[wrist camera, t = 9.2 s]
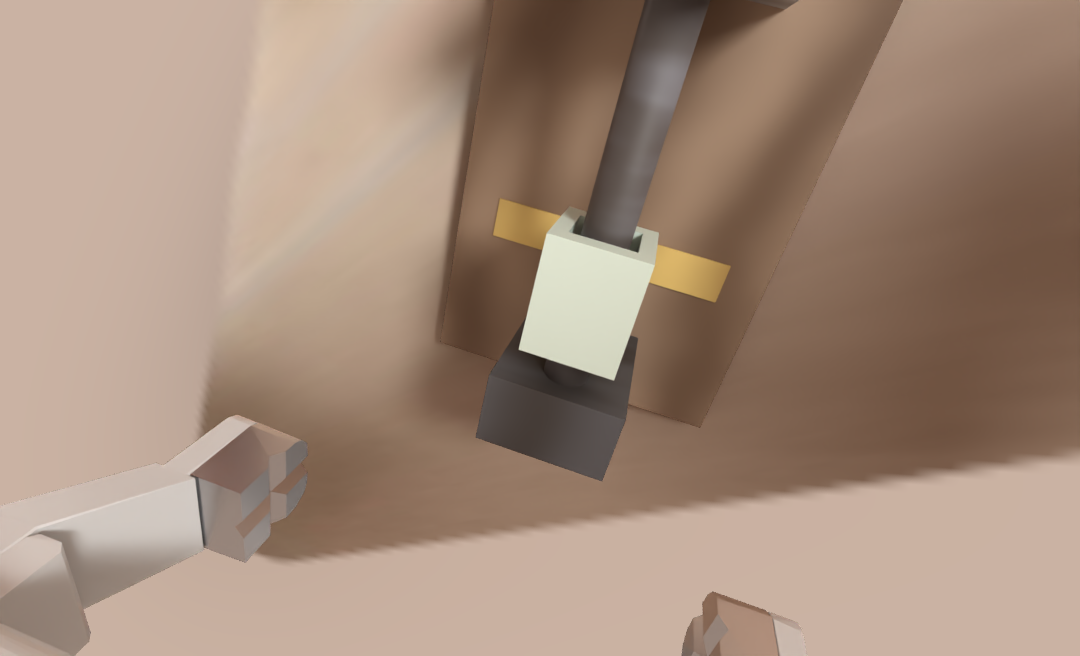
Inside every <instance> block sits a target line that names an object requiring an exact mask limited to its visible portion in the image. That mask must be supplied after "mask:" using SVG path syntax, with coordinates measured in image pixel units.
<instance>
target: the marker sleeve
mask: <svg viewBox="0 0 1080 656" xmlns="http://www.w3.org/2000/svg"><path fill="white" fill-rule="evenodd" d="M586 213H587V212H586V211H583V210H579V209H576V208H573V207H568V209H567V210H566V211H565V212H564V213H563V214H562V216H561V217H560V218H559V219H558V220H557V221H556V223H555V224H554V225H553V226H552V227H551V228H550V230H549V231H548V232H547V234H546V238H545V242H544V246H543V250H542V255H541V259H540V263H539V267H538V271H537V275H536V279H535V283H534V288H533V292H532V296H531V300H530V304H529V308H528V312H527V317H526V321H525V325H524V329H523V333H522V337H521V341H520V345H519V350H521V351H524V352H527V353H531V354H534V355H537V356H540V357H543V358H546V359H549V360H552V361H555V362H558V363H561V364H564V365H567V366H570V367H574V368H577V369H580V370H583V371H586V372H589V373H592V374H595V375H598V376H601V377H604V378H607V379H610V380H613V381H614V379H615V376H616V374H617V371H618V368H619V365H620V362H621V359H622V357H623V354H624V351H625V348H626V345H627V343H628V340H629V337H630V334H631V331H632V328H633V326H634V323H635V320H636V317H637V314H638V312H639V309H640V306H641V303H642V300H643V298H644V295H645V292H646V289H647V286H648V283H649V281H650V278H651V275H652V272H653V269H654V267H655V261H656V253H657V245H658V237H659V233H658V232H655V231H651V230H648V229H644V228H641V227H638V226H637V227H636V230H635V233H634V236H633V239H632V242H631V246H630V249H629V250H627V249H624V248H621V247H617V246H614V245H611V244H607V243H604V242H601V241H597V240H594V239H590V238H587V237H584V236H580V235H581V231H582V228H583V224H584V221H585V217H586Z"/></svg>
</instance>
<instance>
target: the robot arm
mask: <svg viewBox="0 0 1080 656" xmlns="http://www.w3.org/2000/svg"><path fill="white" fill-rule="evenodd" d="M307 456H308V451H307V443H306V442H305V441H303V440H301V439H298V438H296V437H293V436H291V435H288V434H286V433H283V432H281V431H278V430H276V429H273V428H271V427H268V426H266V425H263V424H261V423H258V422H255V421H253V420H250V419H247V418H245V417H242V416H240V415H234V416H231V417H228V418H226V419H225V420H224V421H222V422H221V423H220V424H218V425H217V426H215V427H214V428H213V429H211V430H210V431H209V432H207V433H206V434H205V435H203V436H202V437H201V438H199V439H198V440H197V441H195V442H194V443H192V444H191V445H190V446H188V447H187V448H186V449H184V450H183V451H182V452H180V453H179V454H178V455H176V456H175V457H174V458H172V459H171V460H170V461H168V462H167V463H165V464H164V465H161V464H158V463H153V464H150V465H146V466H143V467H139V468H135V469H132V470H129V471H125V472H121V473H117V474H114V475H110V476H106V477H103V478H99V479H96V480H92V481H88V482H85V483H81V484H77V485H74V486H70V487H67V488H63V489H59V490H56V491H52V492H49V493H45V494H41V495H38V496H34V497H31V498H27V499H23V500H20V501H16V502H13V503H9V504H5V505H2V506H0V656H74V655H76V654H77V653H78V652H79V651H80V650H81V649H82V648H83V647H84V646H85V645H86V644H87V643H88V642H89V639H90V633H91V632H90V629H89V626H88V622H87V620H86V616H85V613H84V610H83V609H85V608H87V607H89V606H91V605H93V604H95V603H98V602H100V601H101V600H104V599H105V598H108V597H110V596H112V595H114V594H116V593H118V592H120V591H122V590H124V589H126V588H128V587H130V586H132V585H134V584H136V583H138V582H140V581H142V580H144V579H146V578H148V577H151V576H153V575H155V574H157V573H159V572H161V571H163V570H165V569H167V568H169V567H171V566H173V565H175V564H177V563H179V562H181V561H183V560H185V559H187V558H189V557H191V556H193V555H195V554H197V553H199V552H201V551H203V550H204V548H207V549H210V550H212V551H215V552H218V553H220V554H223V555H226V556H229V557H231V558H234V559H237V560H239V561H242V562H246V561H247V560H248V559H249V558H250V557H251V556H252V555H253V554H254V553H255V552H256V550H257V549H258V548H259V547H260V546H261V545H262V544H263V543H264V542H265V541H266V539H267V538H268V537H269V536H270V534H271V523H274V522H276V521H279V520H281V519H284V518H286V517H287V516H288V515H289V514H290V513H291V512H292V510H293V509H294V508H295V507H296V506H297V504H298V502H299V500H300V499H301V497H302V495H303V493H304V491H305V487H306V483H307V471H306V469H305V467H304V466H303V464H302V461H303V460H304V459H305V458H306V457H307ZM702 605H703V615H701V616H698V617H695V618H693V620H692V622H691V623H690V626H689V627H688V629H687V632H686V636H685V639H684V643H683V649H682V656H807V651H806V647H805V642H804V638H803V633H802V629H801V627H800V626H799V624H798V623H797V622H795V621H792V620H790V619H787V618H784V617H781V616H779V615H776V614H773V613H770V612H767V611H766V610H763V609H760V608H758V607H755V606H752V605H749V604H746V603H743V602H741V601H738V600H735V599H732V598H730V597H727V596H724V595H721V594H718V593H716V592H711V593H710V594H708V595H707V597H706V598H705V600H704V601H703V604H702Z"/></svg>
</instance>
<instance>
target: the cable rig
mask: <svg viewBox="0 0 1080 656" xmlns="http://www.w3.org/2000/svg"><path fill="white" fill-rule="evenodd" d="M902 1H903V0H494V2H493V9H492V15H491V21H490V28H489V34H488V40H487V47H486V53H485V60H484V66H483V72H482V79H481V85H480V91H479V98H478V104H477V111H476V117H475V123H474V130H473V136H472V142H471V149H470V155H469V161H468V168H467V174H466V181H465V187H464V193H463V200H462V206H461V212H460V219H459V225H458V231H457V238H456V244H455V251H454V257H453V263H452V270H451V276H450V282H449V289H448V295H447V301H446V308H445V314H444V321H443V327H442V333H441V340H440V342H442V343H445V344H448V345H451V346H454V347H457V348H460V349H463V350H466V351H469V352H472V353H475V354H478V355H481V356H484V357H487V358H490V359H493V360H496V361H498V362H497V363H496V365H495V367H494V368H493V370H492V371H491V373H490V374H489V378H488V383H487V387H486V392H485V396H484V401H483V406H482V410H481V415H480V420H479V424H478V429H477V433H476V438H479V439H482V440H484V441H487V442H490V443H493V444H496V445H499V446H502V447H505V448H507V449H510V450H513V451H516V452H519V453H522V454H525V455H528V456H530V457H533V458H536V459H539V460H542V461H545V462H548V463H551V464H553V465H556V466H559V467H562V468H565V469H568V470H571V471H574V472H576V473H579V474H582V475H585V476H588V477H591V478H594V479H597V480H599V481H602V480H603V478H604V475H605V472H606V470H607V467H608V465H609V462H610V459H611V457H612V454H613V452H614V449H615V446H616V444H617V441H618V439H619V436H620V433H621V431H622V428H623V426H624V423H625V420H626V414H627V408H628V404H630V405H633V406H636V407H639V408H642V409H645V410H648V411H651V412H654V413H657V414H660V415H663V416H666V417H669V418H672V419H675V420H678V421H681V422H684V423H687V424H690V425H693V426H696V427H699V428H700V427H701V425H702V422H703V420H704V418H705V416H706V414H707V412H708V410H709V408H710V406H711V404H712V401H713V399H714V397H715V395H716V393H717V391H718V389H719V387H720V385H721V382H722V380H723V378H724V376H725V374H726V372H727V370H728V368H729V366H730V364H731V361H732V359H733V357H734V355H735V353H736V351H737V349H738V347H739V345H740V342H741V340H742V338H743V336H744V334H745V332H746V330H747V328H748V326H749V324H750V321H751V319H752V317H753V315H754V313H755V311H756V309H757V307H758V305H759V302H760V300H761V298H762V296H763V294H764V292H765V290H766V288H767V286H768V283H769V281H770V279H771V277H772V275H773V273H774V271H775V269H776V267H777V265H778V262H779V260H780V258H781V256H782V254H783V252H784V250H785V248H786V246H787V243H788V241H789V239H790V237H791V235H792V233H793V231H794V229H795V227H796V225H797V222H798V220H799V218H800V216H801V214H802V212H803V210H804V208H805V206H806V203H807V201H808V199H809V197H810V195H811V193H812V191H813V189H814V187H815V185H816V182H817V180H818V178H819V176H820V174H821V172H822V170H823V168H824V166H825V163H826V161H827V159H828V157H829V155H830V153H831V151H832V149H833V147H834V144H835V142H836V140H837V138H838V136H839V134H840V132H841V130H842V128H843V126H844V123H845V121H846V119H847V117H848V115H849V113H850V111H851V109H852V107H853V104H854V102H855V100H856V98H857V96H858V94H859V92H860V90H861V88H862V86H863V83H864V81H865V79H866V77H867V75H868V73H869V71H870V69H871V67H872V64H873V62H874V60H875V58H876V56H877V54H878V52H879V50H880V48H881V46H882V43H883V41H884V39H885V37H886V35H887V33H888V31H889V29H890V27H891V24H892V22H893V20H894V18H895V16H896V14H897V12H898V10H899V8H900V6H901V3H902ZM568 207H573V208H576V209H579V210H583V211H586V212H587V213H586V217H585V221H584V224H583V228H582V231H581V235H580V236H584V237H587V238H590V239H594V240H597V241H601V242H604V243H607V244H611V245H614V246H617V247H621V248H624V249H627V250H629V249H630V246H631V242H632V239H633V236H634V233H635V230H636V227H637V226H638V227H641V228H644V229H648V230H651V231H655V232H658V233H659V237H658V245H657V253H656V261H655V267H654V269H653V272H652V275H651V278H650V281H649V283H648V286H647V289H646V292H645V295H644V298H643V300H642V303H641V306H640V309H639V312H638V314H637V317H636V320H635V323H634V326H633V328H632V331H631V334H630V337H629V340H628V343H627V345H626V348H625V351H624V354H623V357H622V359H621V362H620V365H619V368H618V371H617V374H616V376H615V379H614V381H613V380H610V379H607V378H604V377H601V376H598V375H595V374H592V373H589V372H586V371H583V370H580V369H577V368H574V367H570V366H567V365H564V364H561V363H558V362H555V361H552V360H549V359H546V358H543V357H540V356H537V355H534V354H531V353H527V352H524V351H521V350H519V345H520V341H521V337H522V333H523V329H524V325H525V321H526V317H527V312H528V308H529V304H530V300H531V296H532V292H533V288H534V283H535V279H536V275H537V271H538V267H539V263H540V259H541V255H542V250H543V246H544V242H545V238H546V234H547V232H548V231H549V230H550V228H551V227H552V226H553V225H554V224H555V223H556V221H557V220H558V219H559V218H560V217H561V216H562V214H563V213H564V212H565V211H566V210H567V209H568Z"/></svg>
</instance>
